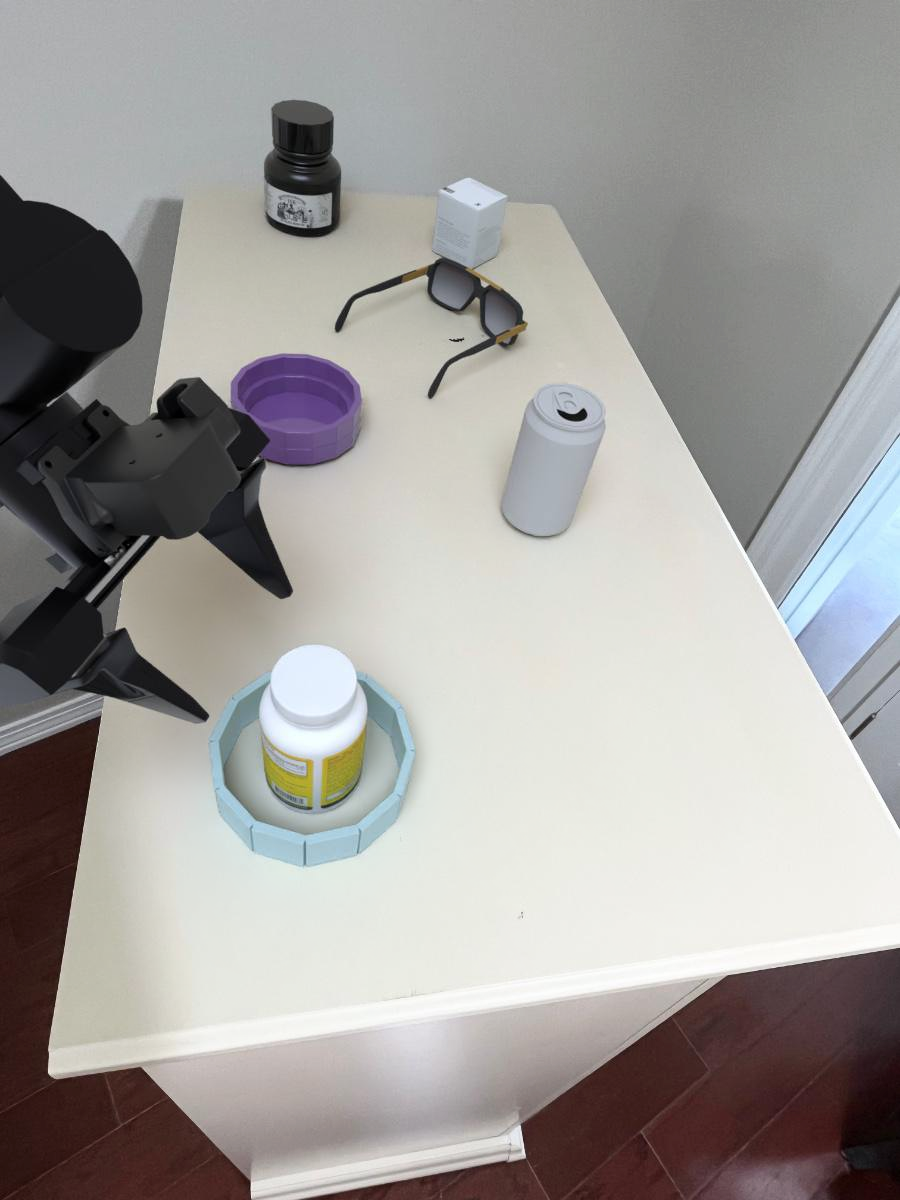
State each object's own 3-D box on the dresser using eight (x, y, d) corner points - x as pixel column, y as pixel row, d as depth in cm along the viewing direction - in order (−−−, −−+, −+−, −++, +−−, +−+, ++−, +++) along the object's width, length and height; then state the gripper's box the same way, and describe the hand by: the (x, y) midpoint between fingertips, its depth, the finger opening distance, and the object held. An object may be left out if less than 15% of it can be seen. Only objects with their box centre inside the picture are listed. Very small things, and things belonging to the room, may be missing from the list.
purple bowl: (213, 448, 69) (208, 411, 66) (262, 377, 76) (260, 341, 73) (335, 482, 68) (337, 446, 65) (373, 407, 76) (376, 372, 73)
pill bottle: (356, 725, 54) (366, 629, 45) (366, 811, 50) (378, 723, 42) (263, 733, 52) (254, 635, 44) (265, 821, 49) (257, 733, 40)
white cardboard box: (498, 256, 98) (510, 195, 92) (469, 272, 94) (479, 209, 89) (459, 236, 100) (469, 175, 94) (429, 251, 96) (437, 188, 91)
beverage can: (510, 544, 67) (543, 433, 57) (490, 492, 70) (518, 379, 61) (580, 539, 68) (623, 429, 59) (557, 487, 72) (594, 377, 63)
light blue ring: (182, 831, 48) (174, 807, 45) (260, 671, 55) (257, 642, 53) (376, 889, 47) (380, 867, 44) (427, 719, 55) (433, 692, 52)
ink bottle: (250, 224, 94) (244, 114, 85) (280, 195, 100) (277, 88, 90) (327, 246, 93) (330, 137, 84) (353, 215, 99) (357, 110, 90)
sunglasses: (334, 332, 83) (335, 288, 79) (435, 290, 91) (440, 247, 87) (429, 400, 78) (435, 356, 74) (526, 349, 86) (536, 307, 82)
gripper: (-77, 511, 25) (251, 791, 33) (224, 262, 37) (416, 508, 44) (-169, 584, 32) (118, 802, 40) (109, 355, 44) (291, 555, 51)
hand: (248, 654), depth 44 cm, fingers open, 9 cm apart
